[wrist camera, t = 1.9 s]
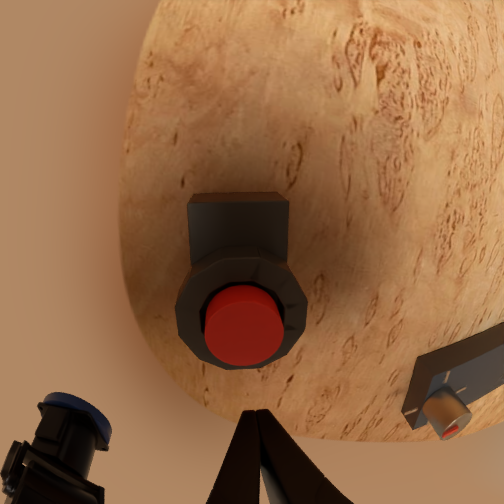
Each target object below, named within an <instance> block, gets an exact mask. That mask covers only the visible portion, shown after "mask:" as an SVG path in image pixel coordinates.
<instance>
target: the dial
mask: <svg viewBox="0 0 504 504" xmlns="http://www.w3.org/2000/svg"><path fill="white" fill-rule="evenodd" d="M422 411H423V413H424V415H425V416H426V418H427V419H428V421H429V422H430V424H431V425H432V427H433V428H434V430H435V431H436V433H437V434H438V436H439V437H440V439H441V440H448V439H450V438H452V437H454V436H455V435H457V434H458V433H459V432H460V431H462V430H463V429H464V428H465V427H466V425H467V424H468V423H469V422H470V420H471V418H472V413H471V412H470V410H469V409H468V408H467V407H466V405H465V404H464V403H463V402H462V400H461V399H460V398H459V397H458V395H457V394H456V393H455V392H454V391H453V389H452V388H451V387H444V388H441V389H439V390H438V391H436V392H435V393H434V394H432V395H431V396H430V397H429V398H428V400H427V401H426V402H425V404H424V406H423V408H422Z"/></svg>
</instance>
